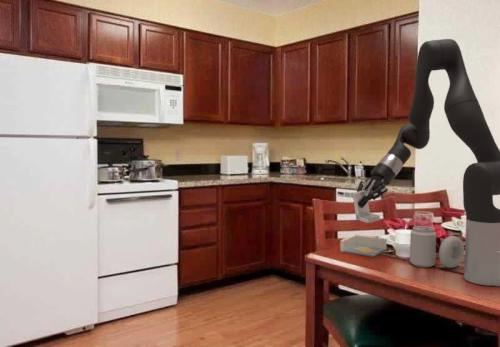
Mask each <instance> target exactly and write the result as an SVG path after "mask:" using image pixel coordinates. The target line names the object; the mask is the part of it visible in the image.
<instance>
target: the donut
mask: <svg viewBox="0 0 500 347" xmlns="http://www.w3.org/2000/svg"><path fill="white" fill-rule="evenodd" d="M464 246H465V245H464V243H463V242H462V239H460V237H458V236H455V235H450V236H447V237H445V239H444V240H443V241H442V242H441V244H440V246H439V250H438V258H439V261H440V263H441V264H442V265H443V266H444V267H445V268H446V269H454V268H456V267H458V266H459V265H460V264H461V262H462V260H463V258H464V256H465V247H464Z"/></svg>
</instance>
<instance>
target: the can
mask: <svg viewBox="0 0 500 347" xmlns="http://www.w3.org/2000/svg"><path fill="white" fill-rule="evenodd" d="M409 242H410V247H409V249H410V251H409V262H410V263H411V264H412V265H413V266H414V267H418V268H432V267H433V266H435V265H436V256H437V255H436V253H437V252H436V250H437V249H436V248H437V233H436V232H435V229H434V227H430V226H425V225H423V226H422V225H419V226H417V225H416V226H413V227H412V230H410V241H409Z"/></svg>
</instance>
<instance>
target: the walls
mask: <svg viewBox="0 0 500 347" xmlns="http://www.w3.org/2000/svg"><path fill="white" fill-rule="evenodd" d="M387 241H388V238H384V237H377V236H376V237H375V236H368V235H361V234H353V235H351V236H350V235H349V236H347V237H345V238H343V239H340V244H339V245H340V247H339V248H340V252H341V253H342V252H343V253H345V252H344V250H346V249H348V248H350V247H352V246H354V245H363V246H369V247H375V248H382V249H385V251H386V250H387V246H388V245H387V244H388V243H387Z"/></svg>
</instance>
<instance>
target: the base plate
mask: <svg viewBox="0 0 500 347" xmlns="http://www.w3.org/2000/svg"><path fill="white" fill-rule="evenodd" d="M384 250H385V249H382V248H375V247H369V246H363V245H354V246H352V247H350V248H348V249H346V250H344V252H343V253H347V254H354V255H355V254H356V255H361V256H366V257H373V258H374V257H375V256H377V255H380V254H381V253H384V252H385V251H386V250H385V251H384Z"/></svg>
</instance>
